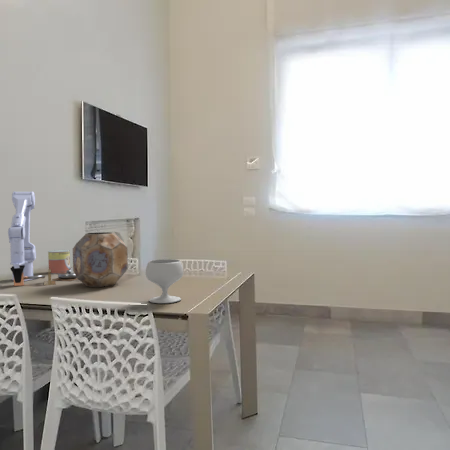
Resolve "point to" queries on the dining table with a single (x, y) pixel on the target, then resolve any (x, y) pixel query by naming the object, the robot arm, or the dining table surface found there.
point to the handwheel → (67, 274)
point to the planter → (100, 259)
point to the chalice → (164, 277)
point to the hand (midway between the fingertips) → (18, 282)
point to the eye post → (49, 279)
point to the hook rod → (27, 278)
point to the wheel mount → (65, 279)
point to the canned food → (59, 261)
